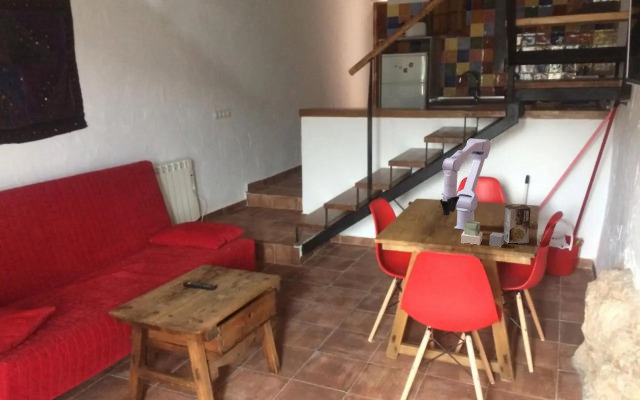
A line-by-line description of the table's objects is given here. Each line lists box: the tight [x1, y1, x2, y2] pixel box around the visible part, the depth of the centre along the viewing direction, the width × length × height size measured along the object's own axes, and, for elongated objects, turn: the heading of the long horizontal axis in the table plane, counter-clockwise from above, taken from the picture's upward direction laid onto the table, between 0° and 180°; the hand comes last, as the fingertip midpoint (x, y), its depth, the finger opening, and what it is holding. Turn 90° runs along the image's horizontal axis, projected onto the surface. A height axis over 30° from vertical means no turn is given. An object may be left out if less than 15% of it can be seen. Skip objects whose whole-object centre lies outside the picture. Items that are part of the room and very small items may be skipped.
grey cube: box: [488, 231, 505, 248], centre depth 220 cm, size 5×5×5 cm
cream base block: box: [460, 230, 483, 246], centre depth 226 cm, size 8×8×4 cm
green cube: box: [463, 220, 481, 236], centre depth 225 cm, size 5×5×5 cm
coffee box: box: [503, 204, 531, 244], centre depth 223 cm, size 9×6×16 cm
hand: (449, 213), depth 234 cm, fingers open, 7 cm apart
